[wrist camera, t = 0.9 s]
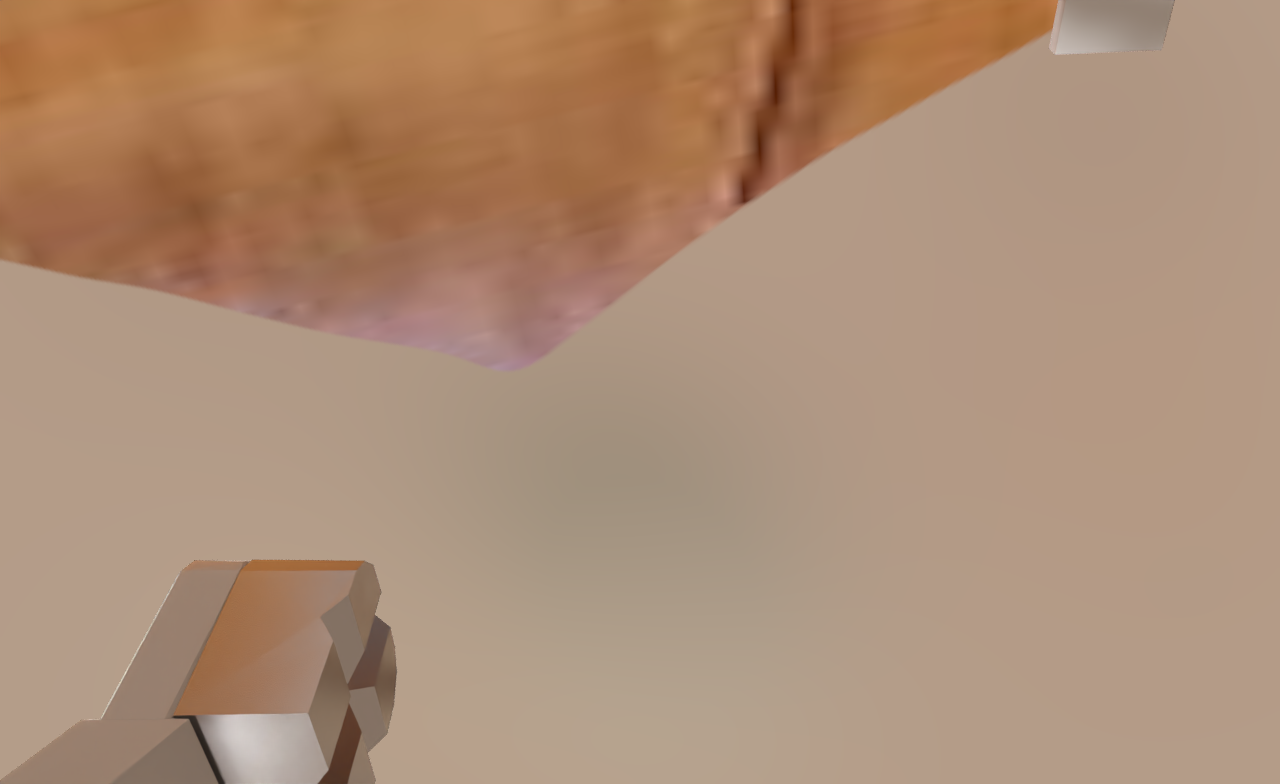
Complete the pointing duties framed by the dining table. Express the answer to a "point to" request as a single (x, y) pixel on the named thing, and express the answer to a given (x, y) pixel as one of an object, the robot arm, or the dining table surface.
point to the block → (1110, 26)
